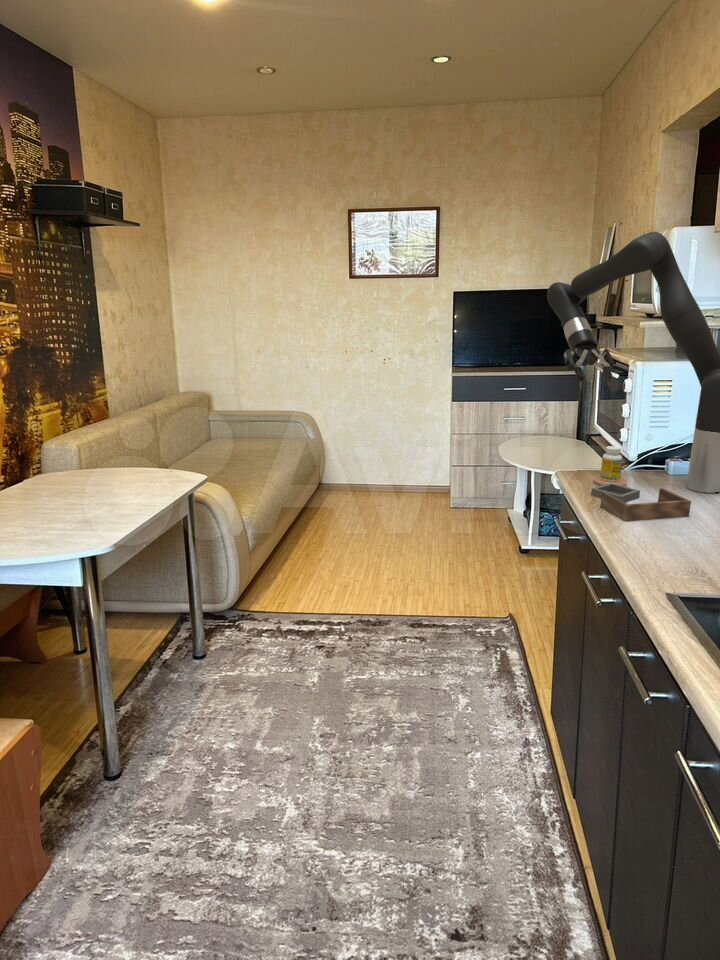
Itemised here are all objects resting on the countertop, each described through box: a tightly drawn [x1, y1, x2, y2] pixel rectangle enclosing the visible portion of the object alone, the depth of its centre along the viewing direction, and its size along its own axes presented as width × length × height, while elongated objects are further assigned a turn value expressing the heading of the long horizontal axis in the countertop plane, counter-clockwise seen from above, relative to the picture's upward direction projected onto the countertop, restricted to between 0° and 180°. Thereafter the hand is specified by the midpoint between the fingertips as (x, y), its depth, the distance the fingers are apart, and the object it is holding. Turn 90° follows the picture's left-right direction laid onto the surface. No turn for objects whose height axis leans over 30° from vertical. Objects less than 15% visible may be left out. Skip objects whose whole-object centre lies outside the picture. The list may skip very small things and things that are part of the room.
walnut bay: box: [599, 487, 692, 522], centre depth 173 cm, size 18×11×4 cm, turn 103°
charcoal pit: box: [590, 483, 641, 503], centre depth 185 cm, size 9×9×2 cm
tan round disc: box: [593, 475, 628, 487], centre depth 197 cm, size 9×9×1 cm
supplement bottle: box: [600, 445, 623, 482], centre depth 195 cm, size 5×5×10 cm
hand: (596, 379), depth 197 cm, fingers open, 8 cm apart
